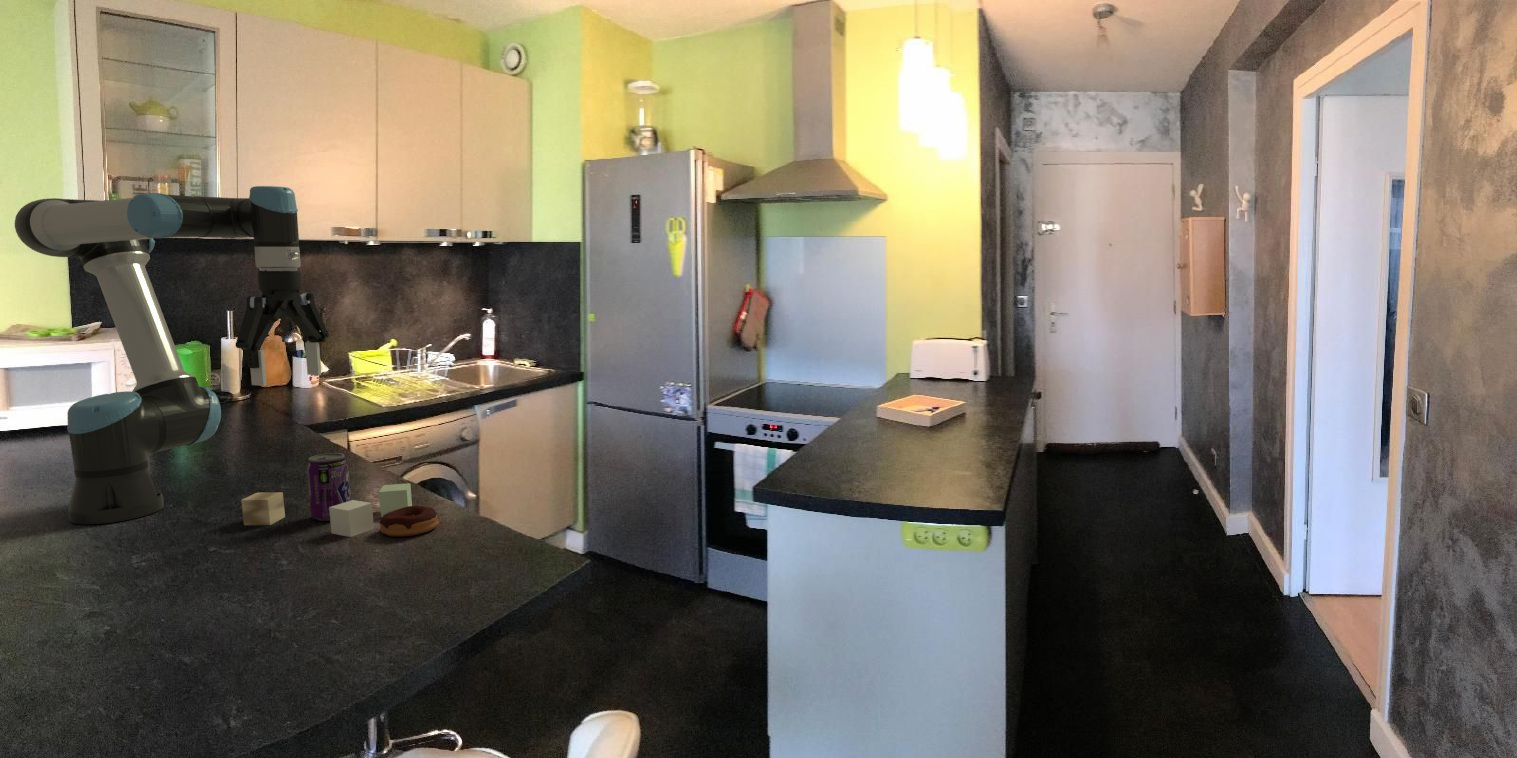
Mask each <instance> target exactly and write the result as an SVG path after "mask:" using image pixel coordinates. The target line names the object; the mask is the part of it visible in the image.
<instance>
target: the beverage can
mask: <svg viewBox="0 0 1517 758" xmlns="http://www.w3.org/2000/svg"><path fill="white" fill-rule="evenodd" d="M308 461H309V462H308V463H307V467H306V477H307V487H308V488H307V489H308V496H309V498H308V499H309V500H308V501H309V508H310V510H309V511H310V517H311V518H312V519H315V520H317V521H321V522H331V521H330V511H329V507H332V506H335V505H338V504H341V503H345V502H348V501H351V500H352V497H351V496H352V495H351V487H350V486H351V484H350V473H349V472H350V471H349V463H348V462H347V460H346V458H345V454H344V453H341V452H340V453H339V452H329V453H328V452H327V453H320V454H316V455H312V456H310V457H308Z"/></svg>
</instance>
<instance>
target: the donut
mask: <svg viewBox="0 0 1517 758" xmlns="http://www.w3.org/2000/svg"><path fill="white" fill-rule="evenodd" d="M378 523H379V524H380V532H381V533H383V534H384V535H386V536H389V537H392V538H393V537H395V538H398V537H411V536H417V535H421V534H425V533H428V532H430V531H432V530H433V529H435V528H436V527H437V526H438V525H440V524H439V523H440V521H439V519H438V512H436V510H435V509H434V508H433V507H428V506H423V505H412V506H408V507H404V508H400V509H397V510H394V511H392V512H389V513H386V514H385V515H383V517H380V519H379V522H378Z"/></svg>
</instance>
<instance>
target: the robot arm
mask: <svg viewBox="0 0 1517 758" xmlns="http://www.w3.org/2000/svg"><path fill="white" fill-rule="evenodd" d="M295 194H296V193H295V192H294V190H293V189H292V188H290V187H286V186H273V185H272V186H270V185H258V186H257V185H255V186H252V187H251V188H250V189H249V197H248V198H247V197H222V196H221V197H217V196H216V197H215V196H202V195H201V196H200V195H199V196H196V195H192V196H191V195H178V194H164V193H161V192H160V193H159V192H157V193H156V192H155V193H154V192H152V193H140V194H137V195H135V196H133V197H130V198H129V197H127V198H119V199H105V200H97V199H96V200H94V199H93V200H92V199H90V200H89V199H76V198H75V199H72V198H71V199H70V198H54V197H53V198H42V199H41V198H40V199H37V200H33V201H30V202H28V203H26V204H25V205H23V206H22V207H21V208H19V210H18V212H17V213H16V215H15V219H14V229H15V233H16V235H17V236H18V238H19V240H20V241H21V242H22V243H23V244H24V245H25V246H26V247H27V248H29V249H31V250H32V251H34V252H37V253H39V254H42V255H45V256H50V257H57V258H79V259H80V261H81V262H80V263H81V264H82V266H83V269H84V271H85V272H87V273H90V274H92V275H93V276H95V277H96V278H97V281H98V284H99V286H100V289H101V291H102V294H103V297H104V300H105V302H106V305H107V309H108V310H109V313H110V316H111V319H112V321H113V323H114V327H115V328H116V331H117V334H118V338H119V339H120V342H121V345H122V347H123V350H124V352H125V355H126V358H127V360H128V363H129V365H130V366H129V367H130V369H131V371H132V374H133V376H134V379H135V381H136V384H135V386H134V388H133V389H132V391H117V392H111V393H104V394H98V395H95V396H90V397H88V398H87V397H86V398H84V399H82V400H79V401H76V402H75V403H73V404H72V405H71V406H70V407H69V408H68V409H67V410H68V411H67V426H66V429H67V433H68V435H69V436H68V437H69V441H70V443H69V444H70V449H71V455H72V463H73V471H74V477H75V478H74V479H75V481H74V484H73V485H74V486H73V490H72V493H71V497H70V500H69V501H70V502H69V506H68V508H67V514H68V521H69V522H70V523H72V524H76V525H77V524H78V525H101V524H111V523H116V522H123V521H129V520H134V519H137V518H141V517H146V516H149V515H151V514H155V513H156V512H159V511H161V510H162V509H163V508H164V506H165V503H164V496H163V493H162V491H160V488H159V486H158V484H157V482H156V481H155V480H156V479H154V477H153V475H152V473H151V471H150V469H149V467H150V466H149V461H148V460H149V459H148V454H153V453H157V452H161V451H166V450H171V449H176V448H179V447H184V446H186V447H188V446H189V447H190V446H192V445H195V444H197V443H200V442H204V441H206V440H208V439H210V438H212V436H214V435H215V433H216V432H217V430H218V428H219V425H220V423H221V418H222V407H221V404H220V400H219V397H218V396H217V394H216V393H215V392H214V391H212V389H210V387H206V386H200V385H199V383H198V379H197V377H196V375H194V374H191V373H189V372H187V371H186V370H185V369H184V367H183V364H182V361H181V359H180V356H179V353H178V351H177V348H176V345H175V343H174V339H173V338H172V334H171V333H170V329H169V327H168V324H167V322H166V321H167V320H166V319H165V316H164V313H163V312H162V309H161V305H160V303H159V300H158V298H157V296H156V293H155V291H154V287H153V284H152V282H151V279H150V277H149V274H148V272H147V268H146V265H147V264H148V262H149V261H150V259H151V257H150V256H151V255H150V253H151V252H152V251H153V249H154V248H155V243H156V241H155V240H154V239H171V238H214V239H215V238H219V239H232V240H233V239H238V238H239V239H243V238H244V239H247V238H249V239H250V238H253V241H254V242H253V246H254V256H255V257H254V259H255V267H256V268H257V269H259V270H258V271H257V272H256V281H257V282H256V283H257V289H258V290H259V291H260V292H261V296H247V297H246V310H245V313H244V315H243V318H242V322H241V326H240V327H239V332H238V335H237V338H236V341H235V347H236V348H237V349H241V351H245V352H246V359H247V367H248V369H250V377H251V378H250V380H251V386H267V385H268V383H267V371H266V369H267V368H266V361H265V359H266V357H265V350H264V349H263V350H262V349H261V347H262V346H263V344H264V342H265V341H266V338H267V337H268V335H269V333H270V331H271V330H272V328H273V326H274V324H275V323H276V322H278V321H279V320H284V319H291V321H292V322H293V323H294V324H295V326H296V327H297V328H298V329H299V331H300V332H301V333H302V334H303V335H304V337H305V338H306V340H307V341H306V342H304V347H305V359H306V372H307V375H308V376H309V375H310V376H321V375H322V366H321V365H322V364H321V363H322V362H321V358H322V343H325V342H326V339H327V338H329V336H330V334H329V332H328V330H327V327H326V325H325V323H324V321H323V319H322V316H321V314H320V312H319V310H318V308H317V306H316V304H315V298H314V294H313V293H312V292H300V290H302V289H303V287H304V285H303V277H302V276H303V274H302V271H300V270H298V268H301V266H302V265H301V255H300V243H299V242H300V237H299V223H298V211H299V209H298V208H297V201H296V195H295Z"/></svg>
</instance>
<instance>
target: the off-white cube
mask: <svg viewBox="0 0 1517 758" xmlns="http://www.w3.org/2000/svg"><path fill="white" fill-rule="evenodd" d="M329 511H330V521H329V522H330V533H331V535H333V534H334V535H338V536H344V537H348V538H349V537H350V538H352V537H355V536H357V535H361V534H363V533H366V532H369V531H372V530H374V529H375V527H374V526H375V525H374V514H373V503H372V502H369V501H361V500H355V499H351V501H348V502H345V503H341V504H338V505H335V506H332V507H329Z"/></svg>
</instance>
